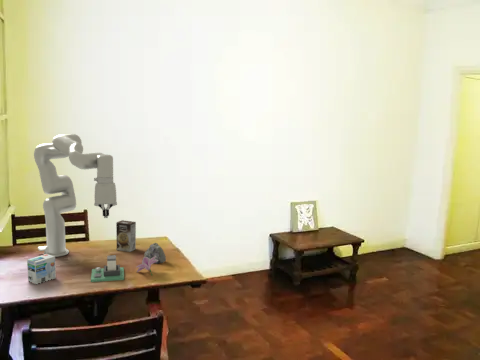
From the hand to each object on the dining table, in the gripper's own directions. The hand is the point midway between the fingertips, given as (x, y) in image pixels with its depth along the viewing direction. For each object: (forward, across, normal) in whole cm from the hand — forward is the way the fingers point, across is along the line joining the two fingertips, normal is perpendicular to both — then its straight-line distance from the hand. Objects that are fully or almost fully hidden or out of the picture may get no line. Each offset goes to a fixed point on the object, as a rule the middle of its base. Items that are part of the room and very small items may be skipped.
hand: (105, 217), depth 231 cm
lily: (+27, +19, -8) cm, 34 cm away
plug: (+26, +2, -8) cm, 27 cm away
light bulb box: (+27, -29, -8) cm, 41 cm away
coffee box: (+27, +10, +31) cm, 43 cm away
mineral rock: (+27, +24, +10) cm, 38 cm away
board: (+27, +1, -8) cm, 28 cm away
